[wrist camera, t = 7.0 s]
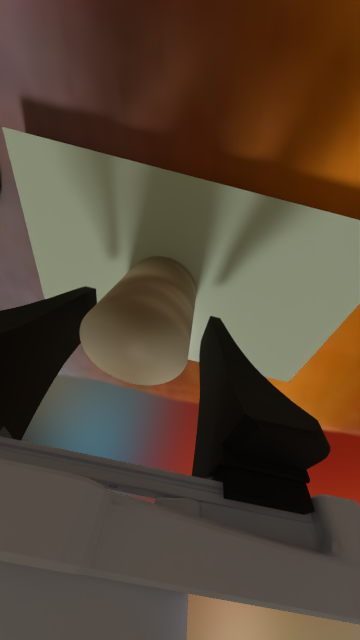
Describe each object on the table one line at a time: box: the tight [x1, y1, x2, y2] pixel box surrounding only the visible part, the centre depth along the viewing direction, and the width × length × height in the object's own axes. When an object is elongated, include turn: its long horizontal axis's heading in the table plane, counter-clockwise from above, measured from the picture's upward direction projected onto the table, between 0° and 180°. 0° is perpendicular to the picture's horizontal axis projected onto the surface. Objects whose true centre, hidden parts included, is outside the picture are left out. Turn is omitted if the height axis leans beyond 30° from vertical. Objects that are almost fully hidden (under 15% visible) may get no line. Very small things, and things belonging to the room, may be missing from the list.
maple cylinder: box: [80, 256, 196, 385], centre depth 11 cm, size 5×5×6 cm
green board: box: [2, 127, 360, 382], centre depth 14 cm, size 22×13×2 cm, turn 78°
